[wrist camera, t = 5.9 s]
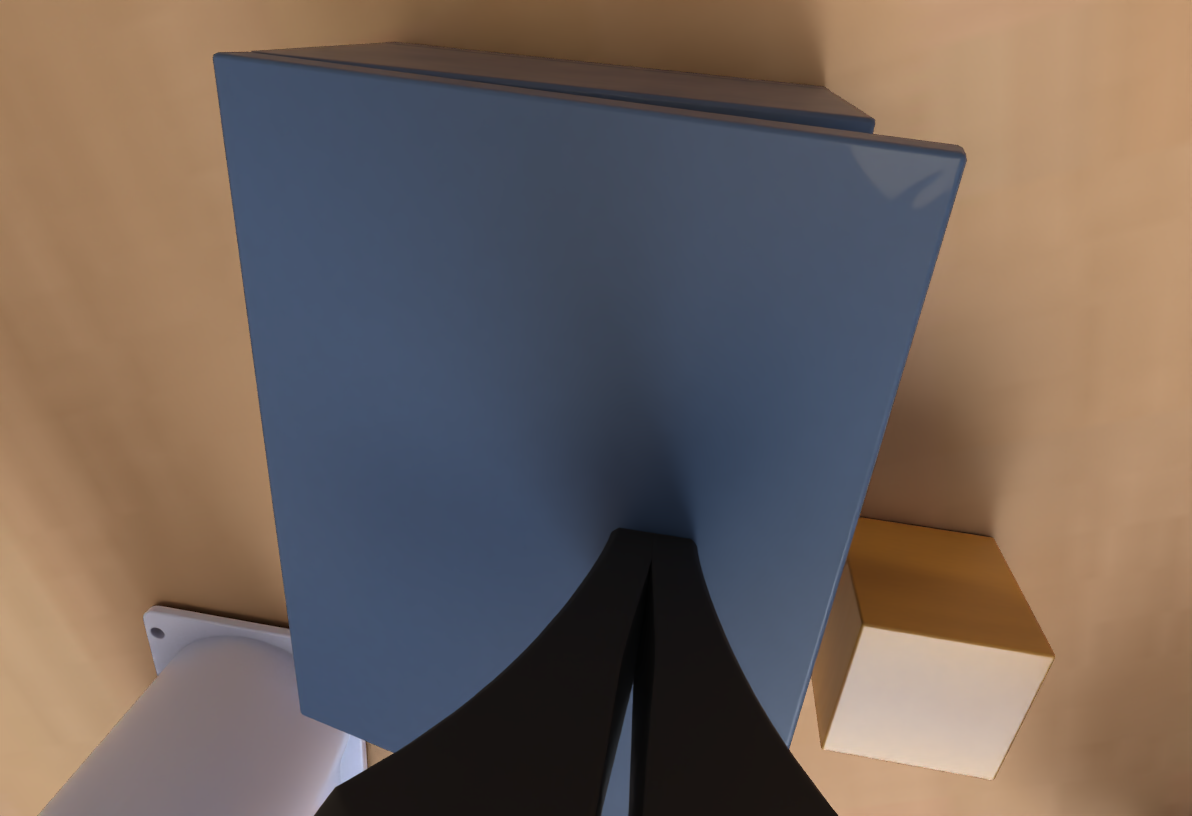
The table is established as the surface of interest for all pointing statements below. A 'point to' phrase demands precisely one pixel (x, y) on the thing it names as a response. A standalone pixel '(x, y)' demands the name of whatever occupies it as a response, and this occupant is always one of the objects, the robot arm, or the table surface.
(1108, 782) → the table surface
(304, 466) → the lid
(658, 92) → the toy box
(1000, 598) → the block
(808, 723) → the table surface
